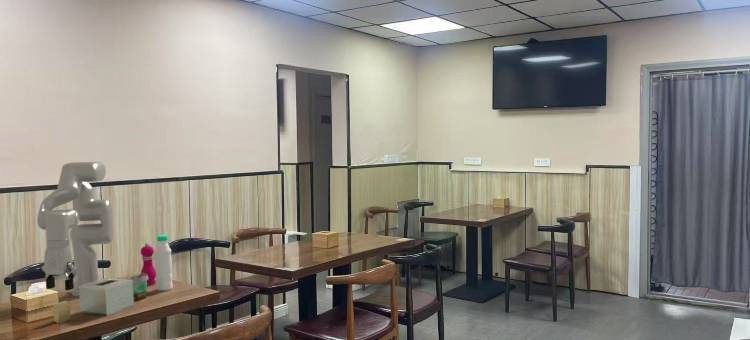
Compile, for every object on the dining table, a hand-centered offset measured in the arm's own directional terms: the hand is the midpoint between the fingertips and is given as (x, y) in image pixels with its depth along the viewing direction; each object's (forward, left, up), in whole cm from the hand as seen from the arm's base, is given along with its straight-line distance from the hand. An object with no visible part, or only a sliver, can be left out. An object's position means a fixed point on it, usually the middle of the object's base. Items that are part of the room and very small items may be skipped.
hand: (60, 288), depth 219 cm
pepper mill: (-10, +56, -13) cm, 59 cm away
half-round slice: (+6, +34, -13) cm, 37 cm away
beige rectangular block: (0, 0, -13) cm, 13 cm away
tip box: (+5, +17, -13) cm, 22 cm away
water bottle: (+5, +50, -13) cm, 52 cm away
